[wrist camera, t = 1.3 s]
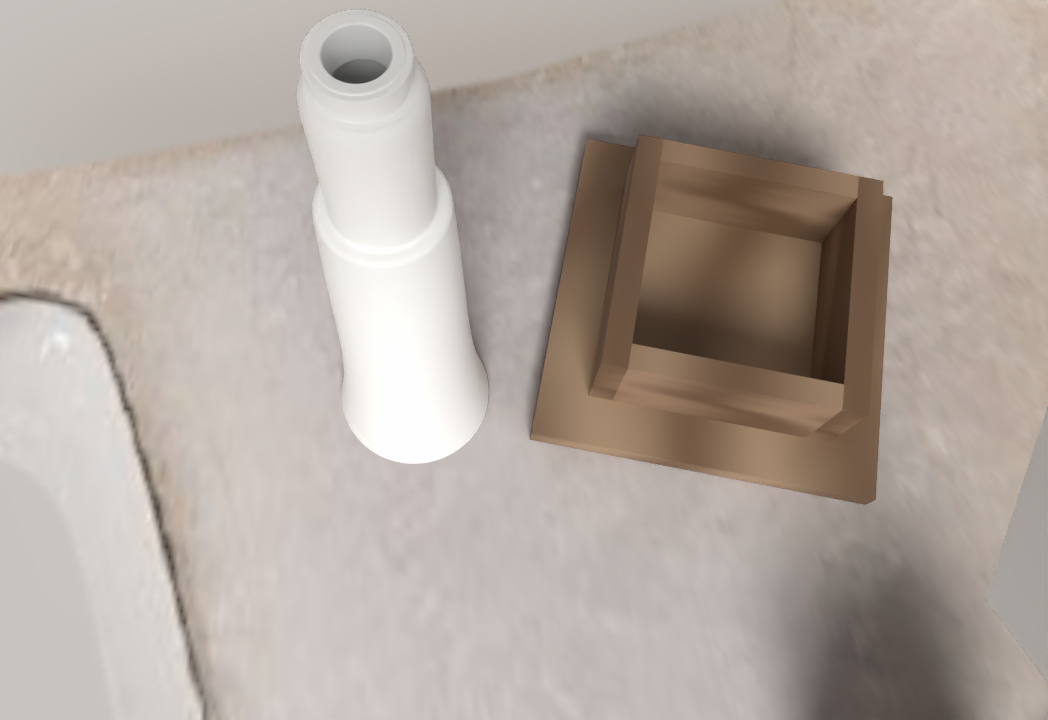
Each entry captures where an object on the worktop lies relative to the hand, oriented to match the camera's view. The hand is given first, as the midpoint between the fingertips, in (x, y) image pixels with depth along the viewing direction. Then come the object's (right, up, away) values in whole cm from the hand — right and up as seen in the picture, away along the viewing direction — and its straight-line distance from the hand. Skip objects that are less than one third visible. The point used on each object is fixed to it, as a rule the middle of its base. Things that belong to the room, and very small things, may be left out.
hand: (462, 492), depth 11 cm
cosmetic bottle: (-4, 0, +29) cm, 29 cm away
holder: (+9, +3, +30) cm, 32 cm away
